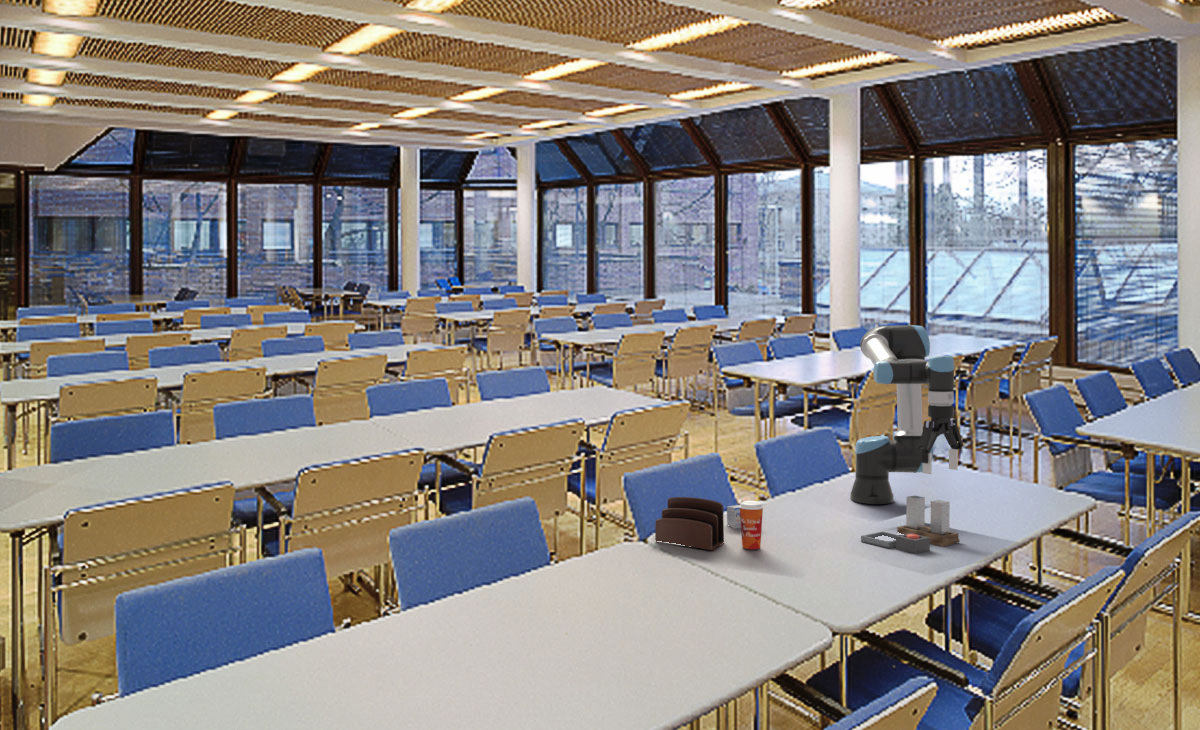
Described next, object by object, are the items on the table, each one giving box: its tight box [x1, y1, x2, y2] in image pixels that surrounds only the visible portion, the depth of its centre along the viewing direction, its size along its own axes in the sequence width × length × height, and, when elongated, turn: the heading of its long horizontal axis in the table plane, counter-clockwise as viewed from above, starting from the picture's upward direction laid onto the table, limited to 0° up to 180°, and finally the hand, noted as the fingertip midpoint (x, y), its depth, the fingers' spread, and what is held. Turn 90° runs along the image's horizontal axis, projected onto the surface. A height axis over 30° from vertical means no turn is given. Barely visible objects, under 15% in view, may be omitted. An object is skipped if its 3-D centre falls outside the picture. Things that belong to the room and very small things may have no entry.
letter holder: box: [654, 496, 725, 551], centre depth 275 cm, size 10×20×14 cm, turn 59°
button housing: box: [895, 533, 931, 555], centre depth 264 cm, size 7×7×4 cm
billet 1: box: [905, 495, 926, 530], centre depth 281 cm, size 4×4×12 cm
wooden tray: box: [896, 524, 961, 548], centre depth 277 cm, size 17×9×3 cm, turn 34°
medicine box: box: [726, 504, 741, 529], centre depth 290 cm, size 8×4×9 cm, turn 118°
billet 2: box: [930, 499, 951, 536], centre depth 273 cm, size 4×4×12 cm
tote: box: [860, 530, 899, 549], centre depth 273 cm, size 11×11×2 cm
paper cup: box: [738, 500, 765, 550], centre depth 269 cm, size 8×8×14 cm
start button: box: [907, 534, 919, 539], centre depth 264 cm, size 4×4×2 cm
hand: (940, 471), depth 273 cm, fingers open, 13 cm apart
